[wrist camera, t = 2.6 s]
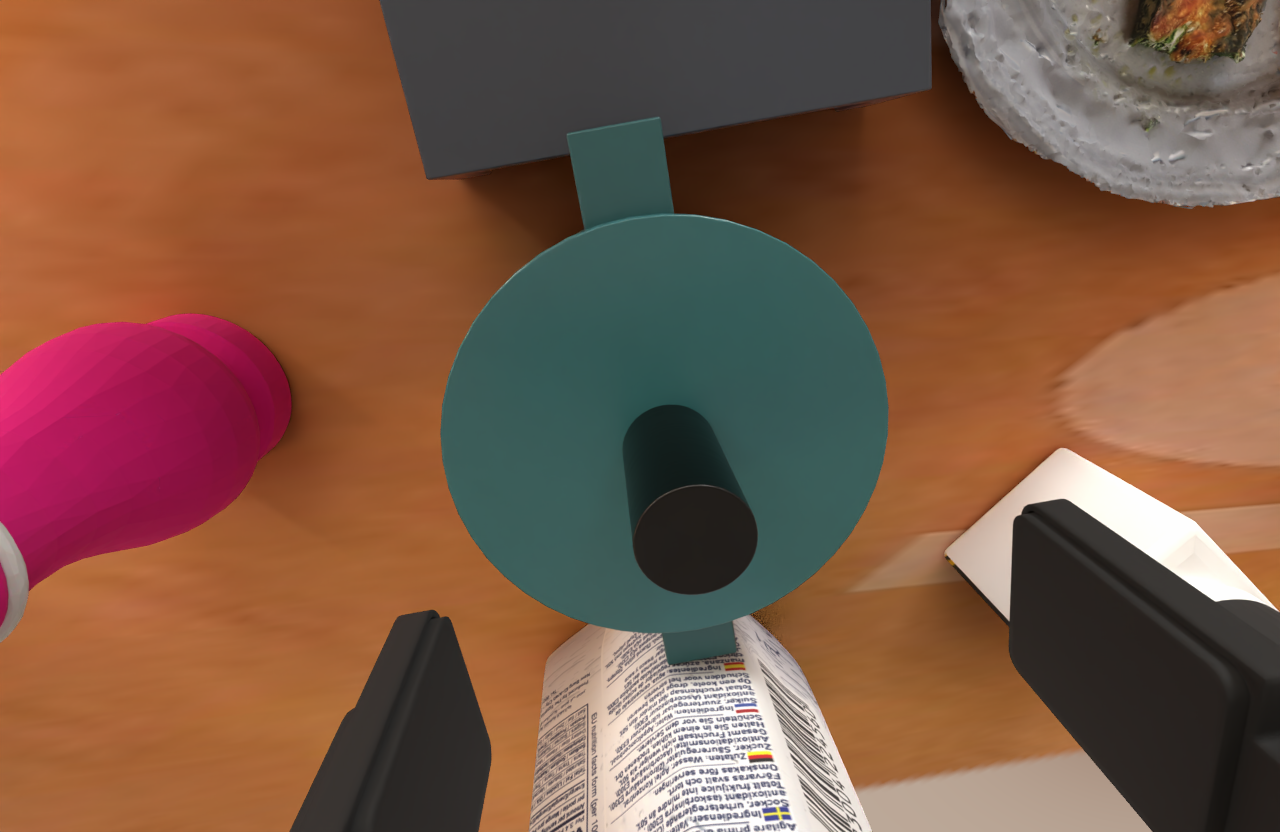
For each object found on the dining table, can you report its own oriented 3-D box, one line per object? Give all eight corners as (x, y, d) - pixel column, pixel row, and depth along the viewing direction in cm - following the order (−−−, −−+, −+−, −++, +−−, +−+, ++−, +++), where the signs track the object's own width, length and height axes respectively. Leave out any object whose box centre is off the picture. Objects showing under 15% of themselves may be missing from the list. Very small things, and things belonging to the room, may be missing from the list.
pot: (550, 563, 30) (535, 706, 22) (450, 169, 24) (379, 164, 16) (799, 517, 30) (876, 643, 22) (762, 113, 24) (847, 80, 16)
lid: (506, 643, 21) (474, 813, 16) (392, 257, 17) (292, 298, 11) (881, 573, 21) (987, 717, 16) (863, 172, 17) (999, 170, 11)
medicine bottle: (937, 551, 31) (1138, 767, 19) (1059, 441, 29) (1353, 608, 18) (1028, 629, 33) (1257, 867, 21) (1146, 531, 31) (1460, 731, 20)
